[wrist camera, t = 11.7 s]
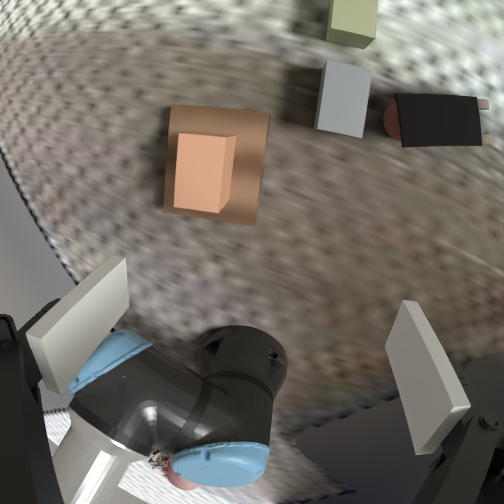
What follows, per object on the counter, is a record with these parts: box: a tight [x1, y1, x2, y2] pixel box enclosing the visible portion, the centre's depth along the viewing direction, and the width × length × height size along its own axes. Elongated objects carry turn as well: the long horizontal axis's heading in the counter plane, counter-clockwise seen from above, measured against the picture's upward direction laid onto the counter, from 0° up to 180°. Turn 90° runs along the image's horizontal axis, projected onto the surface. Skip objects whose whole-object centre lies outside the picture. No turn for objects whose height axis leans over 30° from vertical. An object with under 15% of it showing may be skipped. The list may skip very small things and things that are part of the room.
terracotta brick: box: [174, 132, 236, 213], centre depth 35 cm, size 8×5×6 cm, turn 173°
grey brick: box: [314, 60, 372, 138], centre depth 33 cm, size 8×5×6 cm, turn 173°
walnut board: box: [163, 105, 271, 226], centre depth 39 cm, size 14×12×3 cm
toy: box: [148, 450, 200, 490], centre depth 64 cm, size 12×11×15 cm
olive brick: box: [326, 0, 378, 49], centre depth 28 cm, size 8×5×6 cm, turn 173°
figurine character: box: [383, 94, 493, 148], centre depth 31 cm, size 7×8×15 cm
